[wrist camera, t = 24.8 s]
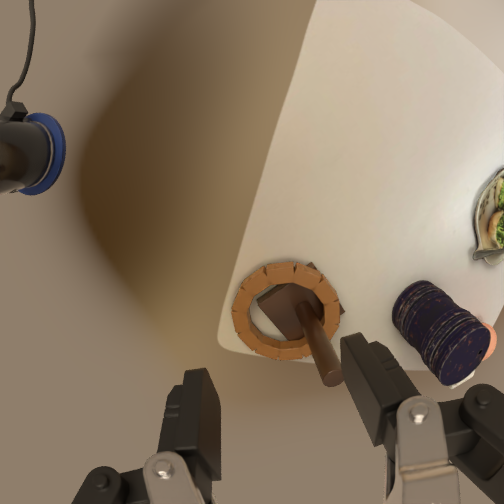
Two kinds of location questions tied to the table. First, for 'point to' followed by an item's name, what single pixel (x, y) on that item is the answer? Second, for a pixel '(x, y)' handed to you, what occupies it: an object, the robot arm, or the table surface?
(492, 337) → the toy ball
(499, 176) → the avocado toast plate
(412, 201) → the table surface
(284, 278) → the ring
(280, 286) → the peg
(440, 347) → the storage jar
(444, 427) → the robot arm
